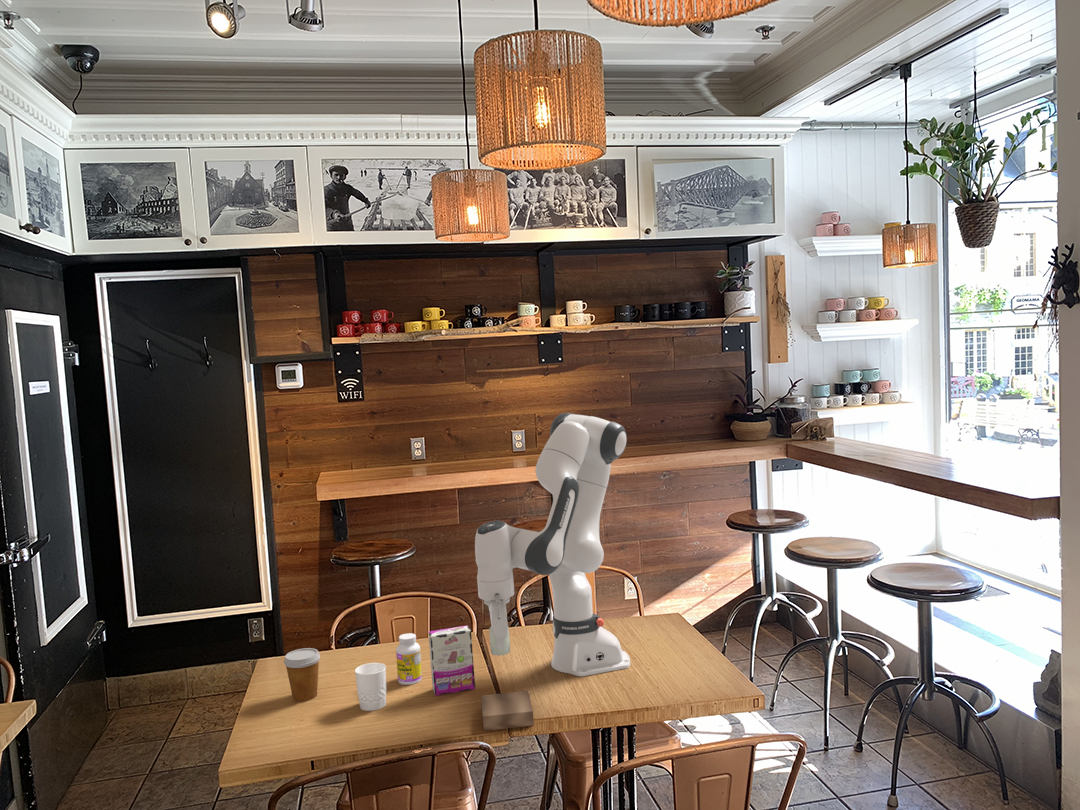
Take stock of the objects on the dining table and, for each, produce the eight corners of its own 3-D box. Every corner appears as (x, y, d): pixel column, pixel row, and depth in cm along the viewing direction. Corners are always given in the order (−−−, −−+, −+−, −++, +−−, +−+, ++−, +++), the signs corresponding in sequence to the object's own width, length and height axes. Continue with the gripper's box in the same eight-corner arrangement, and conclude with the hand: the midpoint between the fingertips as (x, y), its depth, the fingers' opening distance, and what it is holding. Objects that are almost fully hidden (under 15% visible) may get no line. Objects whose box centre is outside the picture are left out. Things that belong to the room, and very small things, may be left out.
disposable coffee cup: (330, 693, 222) (327, 650, 221) (304, 707, 213) (300, 662, 213) (305, 687, 226) (302, 645, 226) (279, 701, 218) (275, 657, 218)
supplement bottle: (393, 683, 226) (390, 638, 225) (407, 674, 232) (404, 630, 231) (412, 687, 223) (409, 641, 222) (426, 678, 228) (423, 633, 228)
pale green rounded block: (509, 647, 203) (507, 623, 203) (510, 654, 198) (509, 630, 198) (490, 649, 203) (488, 625, 202) (491, 656, 198) (489, 632, 197)
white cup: (351, 706, 212) (349, 669, 212) (377, 696, 218) (374, 660, 217) (368, 715, 207) (365, 677, 206) (394, 704, 212) (391, 667, 211)
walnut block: (528, 705, 208) (528, 690, 207) (533, 727, 196) (532, 711, 196) (482, 710, 206) (481, 695, 206) (484, 732, 195) (483, 716, 194)
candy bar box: (472, 682, 223) (468, 624, 222) (475, 689, 219) (472, 630, 218) (431, 689, 220) (427, 630, 219) (434, 697, 216) (430, 636, 214)
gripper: (511, 600, 189) (515, 657, 190) (506, 575, 210) (510, 628, 211) (484, 602, 189) (489, 660, 190) (481, 578, 209) (485, 630, 210)
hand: (500, 643), depth 200 cm, fingers closed on pale green rounded block, 5 cm apart
